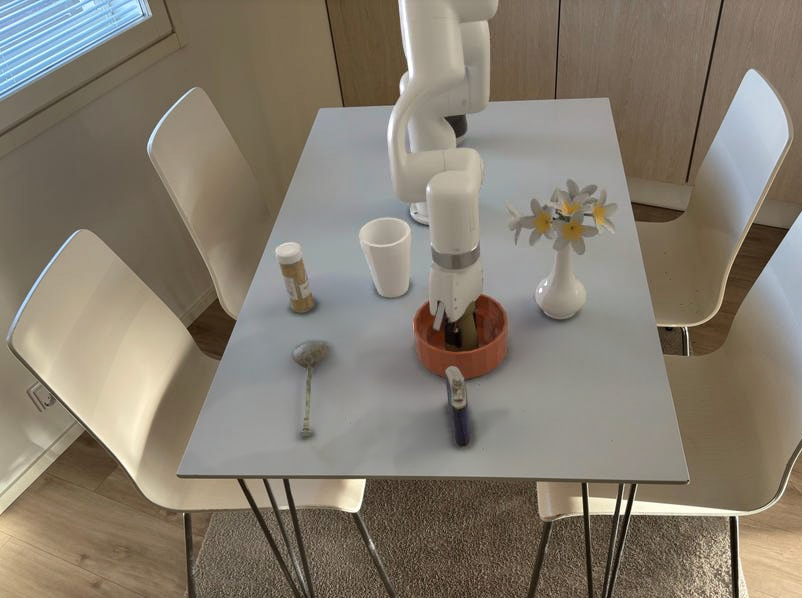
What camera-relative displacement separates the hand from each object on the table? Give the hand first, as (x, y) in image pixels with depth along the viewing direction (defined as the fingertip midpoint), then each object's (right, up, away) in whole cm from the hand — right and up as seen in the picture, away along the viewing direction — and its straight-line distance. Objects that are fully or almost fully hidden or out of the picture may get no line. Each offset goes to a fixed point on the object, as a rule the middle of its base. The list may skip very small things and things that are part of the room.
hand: (461, 335), depth 120 cm
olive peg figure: (0, -2, +2) cm, 2 cm away
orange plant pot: (0, -2, +2) cm, 3 cm away
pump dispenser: (-2, +51, +56) cm, 75 cm away
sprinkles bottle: (-30, +6, +13) cm, 34 cm away
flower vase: (+18, +5, +8) cm, 20 cm away
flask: (0, -15, -10) cm, 18 cm away
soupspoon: (-26, -9, -2) cm, 27 cm away
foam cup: (-13, +10, +16) cm, 23 cm away
